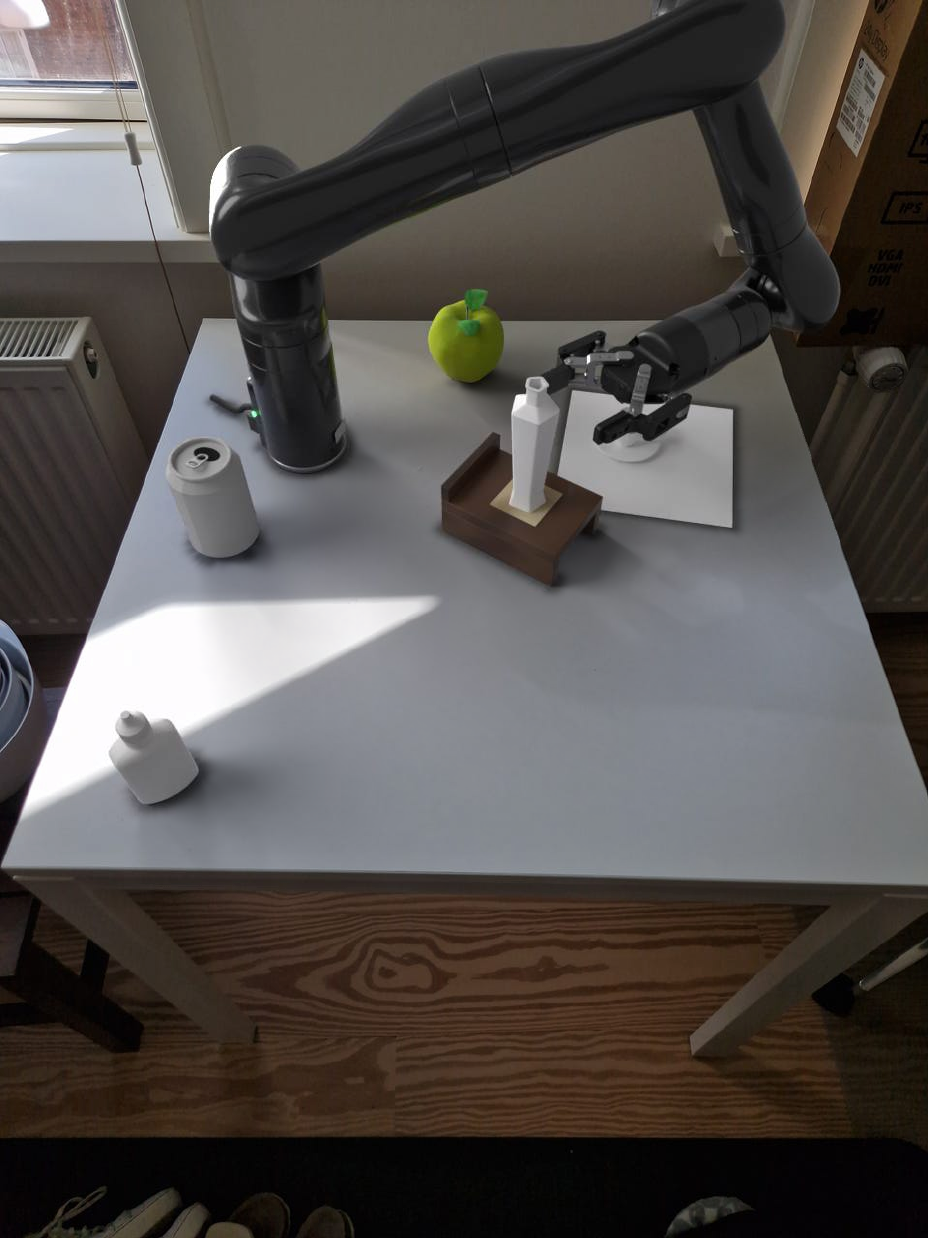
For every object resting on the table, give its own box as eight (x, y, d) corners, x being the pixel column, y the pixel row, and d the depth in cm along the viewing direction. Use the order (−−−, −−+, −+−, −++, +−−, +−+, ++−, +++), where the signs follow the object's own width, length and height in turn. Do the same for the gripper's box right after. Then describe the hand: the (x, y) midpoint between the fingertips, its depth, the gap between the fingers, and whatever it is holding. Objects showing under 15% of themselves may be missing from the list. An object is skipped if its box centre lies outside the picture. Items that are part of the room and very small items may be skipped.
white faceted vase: (546, 517, 88) (559, 403, 76) (504, 511, 89) (510, 396, 77) (552, 486, 91) (566, 371, 79) (511, 480, 91) (519, 365, 79)
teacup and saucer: (668, 424, 104) (674, 397, 101) (664, 469, 100) (671, 443, 96) (596, 415, 105) (600, 388, 102) (589, 459, 100) (594, 433, 97)
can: (274, 524, 95) (252, 442, 85) (236, 572, 91) (209, 492, 81) (217, 503, 96) (190, 421, 87) (178, 549, 92) (144, 468, 83)
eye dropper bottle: (138, 762, 77) (91, 694, 68) (201, 756, 78) (163, 687, 68) (133, 807, 75) (84, 743, 65) (198, 800, 75) (158, 735, 66)
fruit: (508, 356, 112) (512, 288, 104) (492, 402, 107) (495, 333, 99) (441, 346, 113) (439, 277, 105) (422, 390, 108) (418, 321, 100)
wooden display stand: (441, 530, 94) (440, 485, 88) (491, 477, 99) (493, 431, 93) (551, 587, 89) (557, 543, 84) (597, 528, 94) (606, 482, 89)
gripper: (642, 286, 90) (523, 344, 84) (744, 354, 83) (622, 421, 77) (631, 346, 96) (519, 404, 90) (725, 414, 89) (610, 481, 83)
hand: (566, 412), depth 84 cm, fingers open, 8 cm apart
